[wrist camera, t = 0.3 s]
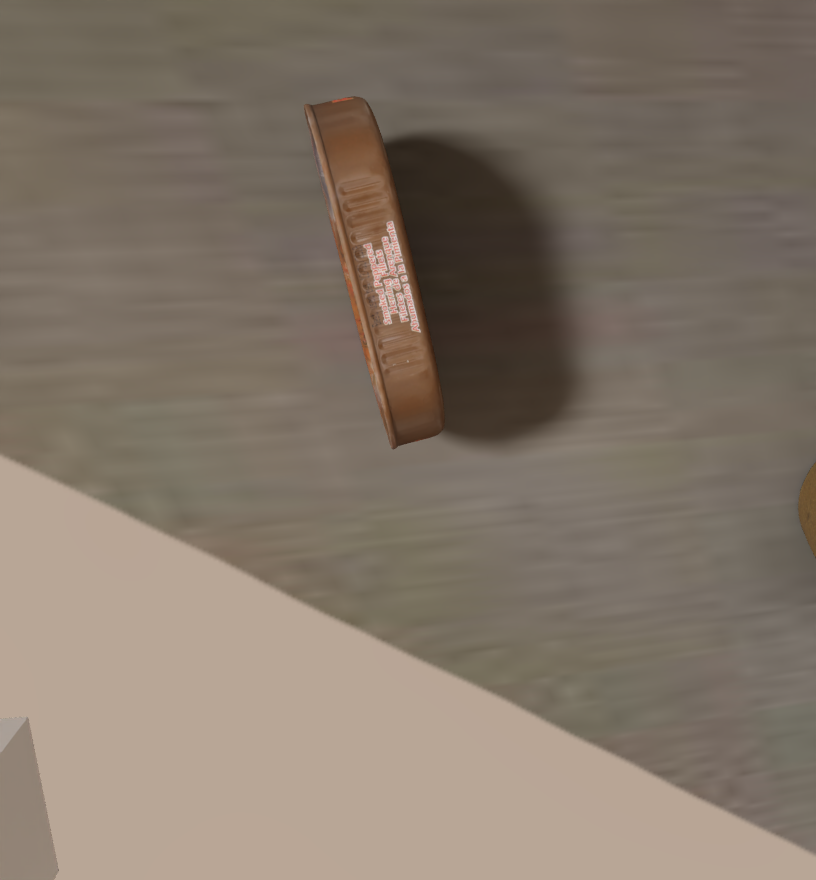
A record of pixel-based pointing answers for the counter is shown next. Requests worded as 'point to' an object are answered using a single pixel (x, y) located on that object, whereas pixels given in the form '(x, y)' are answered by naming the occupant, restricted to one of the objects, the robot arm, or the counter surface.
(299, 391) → the counter surface
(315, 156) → the tin
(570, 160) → the counter surface
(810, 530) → the plant pot
